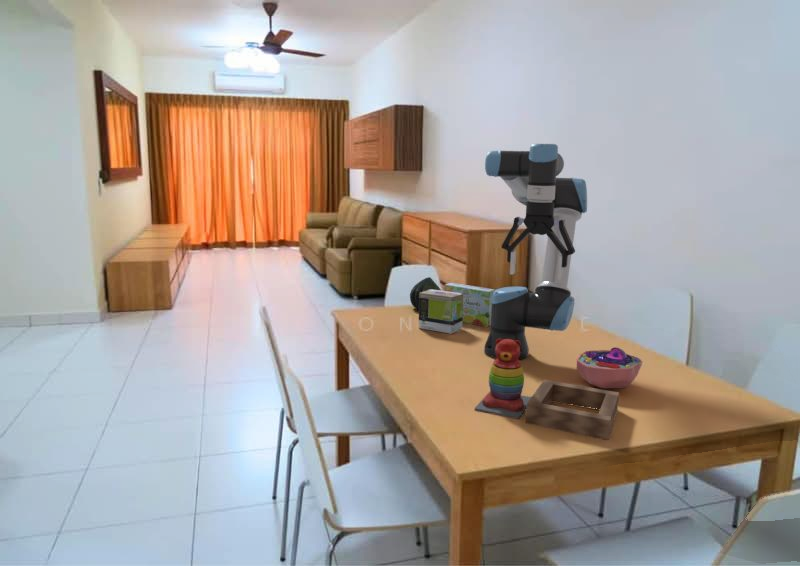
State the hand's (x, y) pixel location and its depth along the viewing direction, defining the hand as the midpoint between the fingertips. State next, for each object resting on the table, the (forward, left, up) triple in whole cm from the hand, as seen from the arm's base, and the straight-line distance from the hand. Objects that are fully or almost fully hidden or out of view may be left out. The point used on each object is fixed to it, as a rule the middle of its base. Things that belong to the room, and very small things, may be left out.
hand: (535, 276), depth 167 cm
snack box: (-40, +61, -34) cm, 81 cm away
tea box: (-46, +45, -33) cm, 73 cm away
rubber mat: (-2, -17, -33) cm, 37 cm away
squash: (-64, +72, -33) cm, 103 cm away
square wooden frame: (+16, -16, -33) cm, 40 cm away
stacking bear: (-2, -16, -33) cm, 37 cm away
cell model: (+21, +12, -33) cm, 41 cm away
